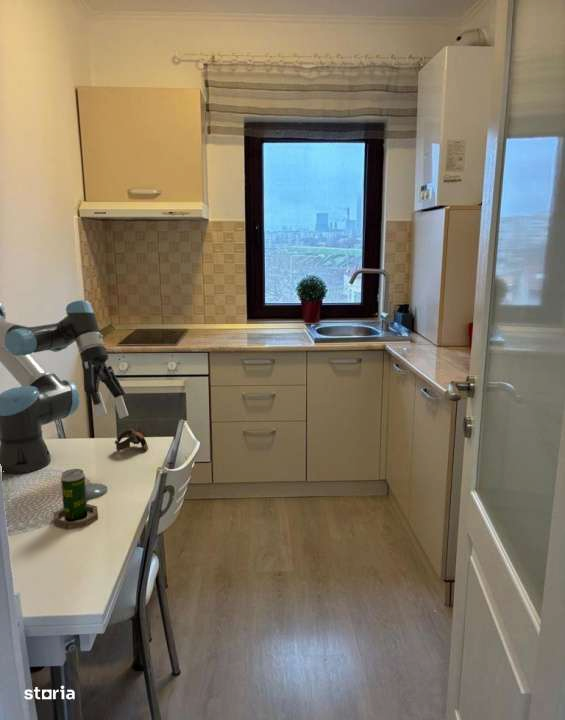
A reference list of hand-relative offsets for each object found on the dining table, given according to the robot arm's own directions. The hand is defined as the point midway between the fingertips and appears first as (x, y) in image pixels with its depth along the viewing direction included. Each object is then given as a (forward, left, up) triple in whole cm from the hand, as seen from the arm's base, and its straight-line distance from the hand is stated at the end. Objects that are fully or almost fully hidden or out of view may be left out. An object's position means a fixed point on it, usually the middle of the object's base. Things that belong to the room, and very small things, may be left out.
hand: (113, 416), depth 160 cm
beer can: (+11, -28, -17) cm, 35 cm away
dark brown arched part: (-7, +16, -17) cm, 25 cm away
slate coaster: (+3, -15, -17) cm, 23 cm away
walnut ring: (+11, -28, -17) cm, 34 cm away
